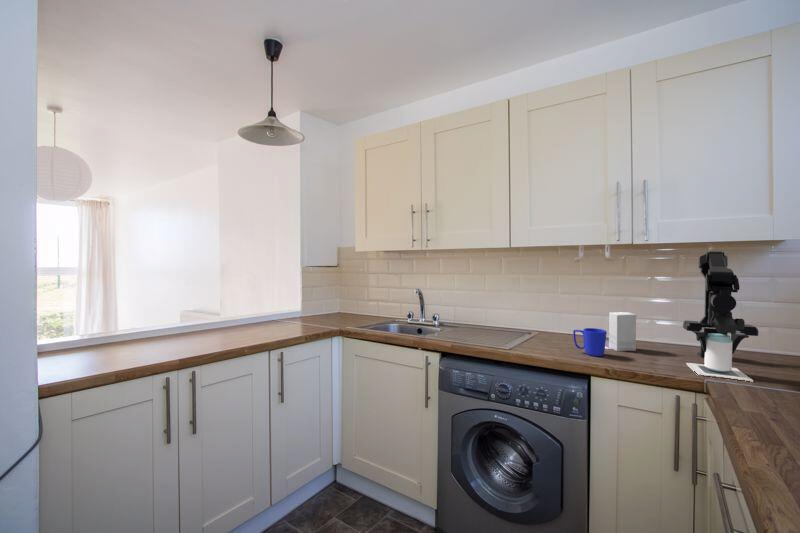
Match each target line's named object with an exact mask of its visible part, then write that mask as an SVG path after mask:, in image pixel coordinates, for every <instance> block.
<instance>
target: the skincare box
mask: <svg viewBox="0 0 800 533" xmlns="http://www.w3.org/2000/svg"><path fill="white" fill-rule="evenodd" d="M608 314H609V322H608V324H609V325H608V326H609V327H608V329H609V330H608V340H609V346H610V347H612V348H613V349H612V350H614V351H616V352H620V351H621V352H623V351H624V352H627V351H630V352H631V351H636V348H637V347H636V345H637V344H636V343H637V342H636V338H637V336H636V335H637V314H635V313H633V312H628V311H622V312H620V311H618V312H614V311H612V312H609V313H608Z"/></svg>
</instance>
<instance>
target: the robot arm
mask: <svg viewBox="0 0 800 533" xmlns="http://www.w3.org/2000/svg"><path fill="white" fill-rule="evenodd" d="M728 260H729V257H728V256H727V255H725V252H724V251H722V250H721V251H715V250H714V251H711V250H710V251H707V252H706V254H702V255H700V256H699V257H698V263H697V264H698V265H697V266H698V268H697V269H699V270H700V274H701V276H702V277H703V278H704V316H702V317H701V319H700V320H699V321H697V320H696V321H695V320H685V321H683V324H682V326H683V327H682V328H683V329H684V330H686V331H687V332H692V333H693V334H695V337H696V341H698V342H700V350H699V351H700V352H699V351H698V352H697V353H696V354H697V355H698V356H700V357H701V358H704V359H705V352H706V337H707V336H708V334H709V333H716V334H724V335H728V334H730V339H731V340H732V342H733V343H732V355H734V354H735V351H736V350H737V348H738V346H739V344H740V343H741V342H742V340H744V339H746V338H747V339H748V338H750V336H753V337H754V336H755V337H759V329H758V327H756V326H754V325H753V324H746V323H745V322H746V321H745V319H743V318H733V312H732V311H733V310H734V309H735V308H736V307H737V300H736V299H735V297H734V296H732V293H738V291H739V290H740V287H741V286H740V282H739V277H738V276H737V275H736V274H734V271H733V270H732V269H731V268H729V267H728V265H729V262H728Z"/></svg>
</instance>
